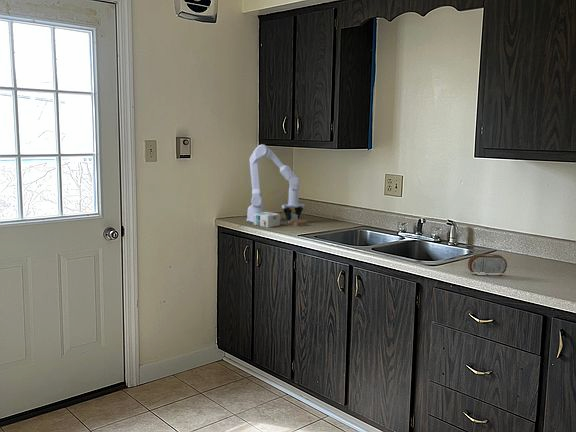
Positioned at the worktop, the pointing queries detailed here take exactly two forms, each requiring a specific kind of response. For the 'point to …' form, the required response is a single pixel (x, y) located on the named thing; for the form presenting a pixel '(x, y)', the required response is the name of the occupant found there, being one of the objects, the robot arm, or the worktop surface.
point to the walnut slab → (298, 222)
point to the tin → (487, 263)
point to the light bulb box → (266, 219)
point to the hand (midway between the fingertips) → (292, 220)
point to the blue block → (293, 217)
